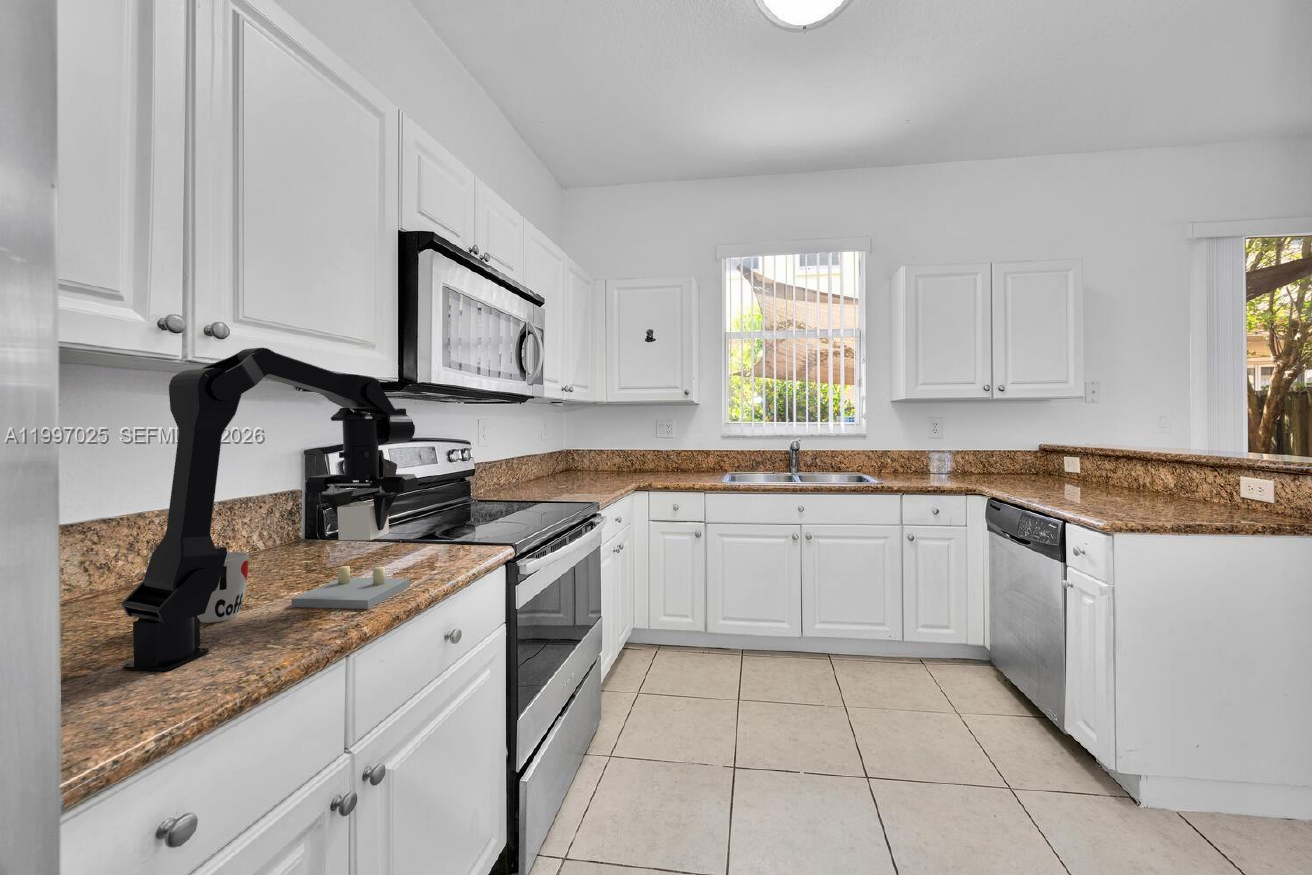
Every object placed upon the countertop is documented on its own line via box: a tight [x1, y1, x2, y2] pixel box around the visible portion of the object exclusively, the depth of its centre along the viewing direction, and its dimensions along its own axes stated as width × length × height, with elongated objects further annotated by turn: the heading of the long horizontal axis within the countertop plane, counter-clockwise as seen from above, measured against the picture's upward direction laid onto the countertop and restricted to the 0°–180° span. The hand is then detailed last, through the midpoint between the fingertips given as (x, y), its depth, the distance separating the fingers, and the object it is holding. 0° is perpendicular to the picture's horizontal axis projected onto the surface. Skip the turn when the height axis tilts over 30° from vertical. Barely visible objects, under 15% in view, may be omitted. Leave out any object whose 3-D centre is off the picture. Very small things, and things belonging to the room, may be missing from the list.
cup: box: [198, 551, 250, 624], centre depth 94 cm, size 8×8×10 cm
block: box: [337, 501, 390, 541], centre depth 105 cm, size 6×6×6 cm
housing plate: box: [290, 565, 411, 610], centre depth 106 cm, size 14×14×4 cm
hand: (364, 530), depth 105 cm, fingers closed on block, 6 cm apart
